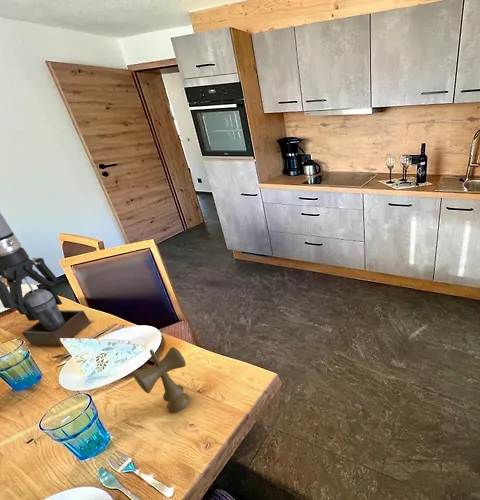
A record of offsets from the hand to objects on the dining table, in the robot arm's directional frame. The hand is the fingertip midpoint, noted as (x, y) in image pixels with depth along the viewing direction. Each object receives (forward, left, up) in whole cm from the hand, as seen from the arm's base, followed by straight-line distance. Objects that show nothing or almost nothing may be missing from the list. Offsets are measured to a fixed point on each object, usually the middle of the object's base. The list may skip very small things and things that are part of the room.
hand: (46, 311), depth 96 cm
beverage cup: (0, 0, -7) cm, 7 cm away
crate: (0, 0, -10) cm, 10 cm away
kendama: (+58, -24, -10) cm, 64 cm away
